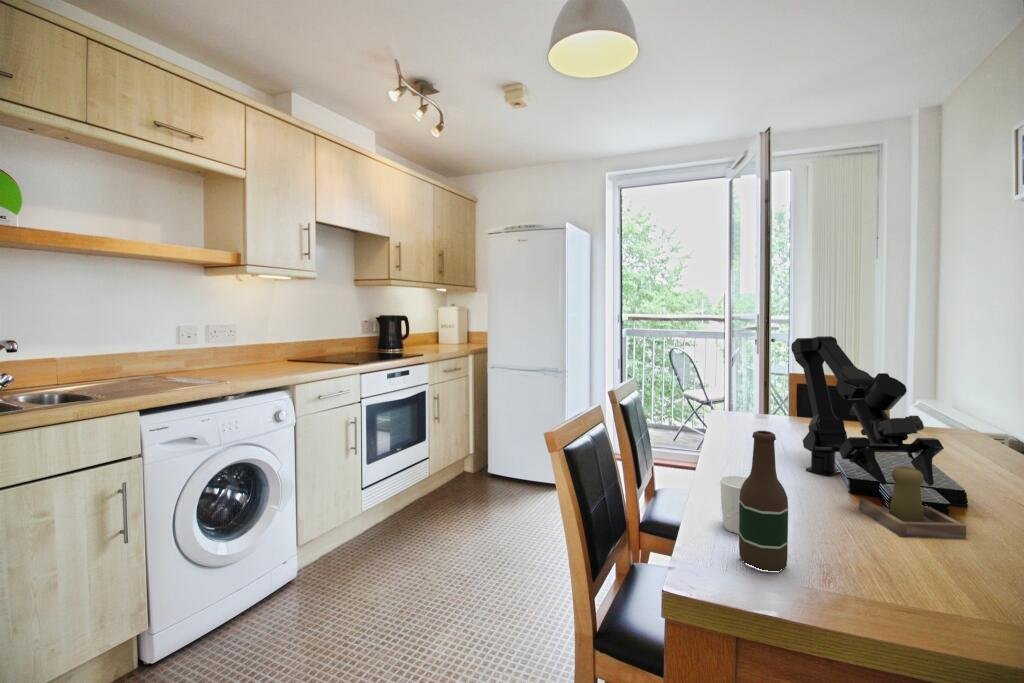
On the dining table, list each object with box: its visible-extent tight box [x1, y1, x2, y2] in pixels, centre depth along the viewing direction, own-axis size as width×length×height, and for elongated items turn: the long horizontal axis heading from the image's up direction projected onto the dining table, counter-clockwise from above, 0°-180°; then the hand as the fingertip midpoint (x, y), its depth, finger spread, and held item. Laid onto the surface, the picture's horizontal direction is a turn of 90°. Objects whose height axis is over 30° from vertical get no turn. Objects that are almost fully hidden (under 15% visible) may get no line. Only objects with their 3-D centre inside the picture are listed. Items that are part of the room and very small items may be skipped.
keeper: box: [858, 498, 967, 540], centre depth 100 cm, size 13×12×3 cm
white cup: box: [719, 475, 748, 535], centre depth 99 cm, size 8×8×10 cm
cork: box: [889, 466, 925, 522], centre depth 101 cm, size 6×6×11 cm
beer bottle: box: [738, 430, 789, 572], centre depth 85 cm, size 8×8×24 cm
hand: (908, 484), depth 100 cm, fingers open, 9 cm apart
